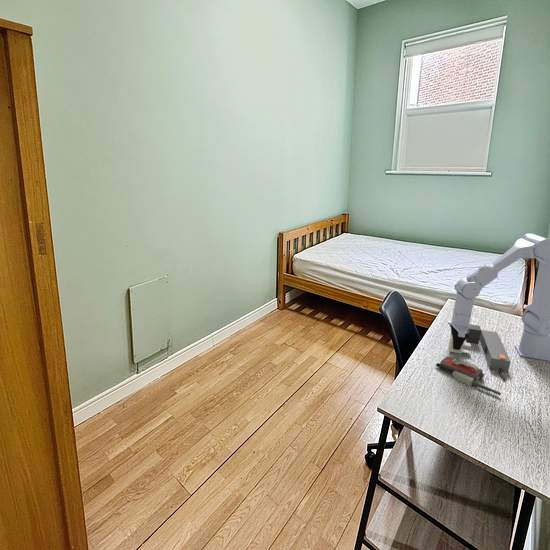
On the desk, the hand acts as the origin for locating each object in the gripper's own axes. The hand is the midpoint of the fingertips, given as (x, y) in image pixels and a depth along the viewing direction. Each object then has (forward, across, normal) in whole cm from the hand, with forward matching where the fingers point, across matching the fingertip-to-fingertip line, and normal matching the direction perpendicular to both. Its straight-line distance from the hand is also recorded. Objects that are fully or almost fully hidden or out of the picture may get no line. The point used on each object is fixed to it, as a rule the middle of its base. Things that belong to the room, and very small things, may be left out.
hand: (455, 346), depth 131 cm
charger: (+1, 0, +1) cm, 2 cm away
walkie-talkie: (+2, +18, +3) cm, 18 cm away
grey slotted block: (+2, +1, +10) cm, 10 cm away
